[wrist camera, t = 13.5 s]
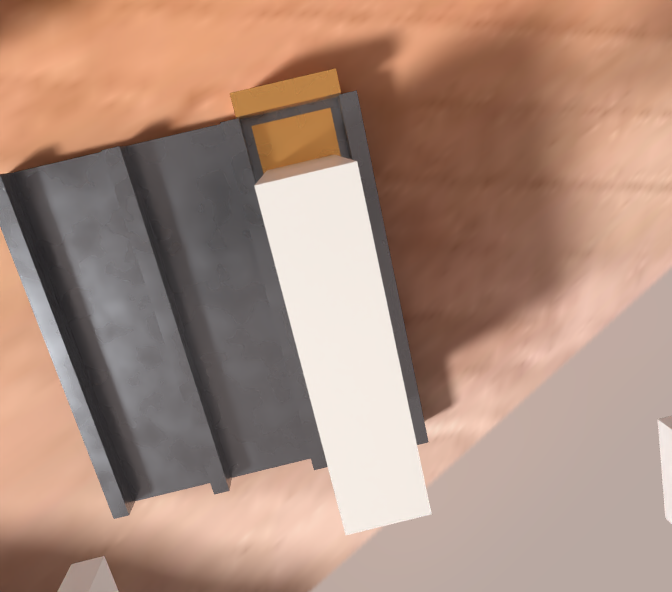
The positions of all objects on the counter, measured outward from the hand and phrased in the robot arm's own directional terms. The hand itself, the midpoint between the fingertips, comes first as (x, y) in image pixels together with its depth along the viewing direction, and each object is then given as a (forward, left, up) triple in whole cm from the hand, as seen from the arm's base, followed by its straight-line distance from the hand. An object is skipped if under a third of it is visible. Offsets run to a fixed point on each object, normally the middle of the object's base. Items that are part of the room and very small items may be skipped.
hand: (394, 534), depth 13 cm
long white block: (0, 0, -23) cm, 23 cm away
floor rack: (0, -6, -24) cm, 25 cm away
